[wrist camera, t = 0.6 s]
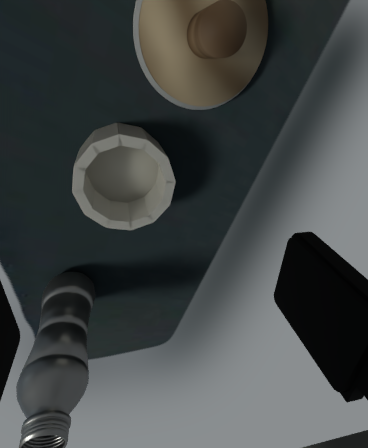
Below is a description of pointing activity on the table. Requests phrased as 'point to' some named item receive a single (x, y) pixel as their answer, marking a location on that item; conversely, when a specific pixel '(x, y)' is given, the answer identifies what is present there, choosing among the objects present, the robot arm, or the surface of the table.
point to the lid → (203, 46)
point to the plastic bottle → (56, 362)
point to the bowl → (122, 177)
